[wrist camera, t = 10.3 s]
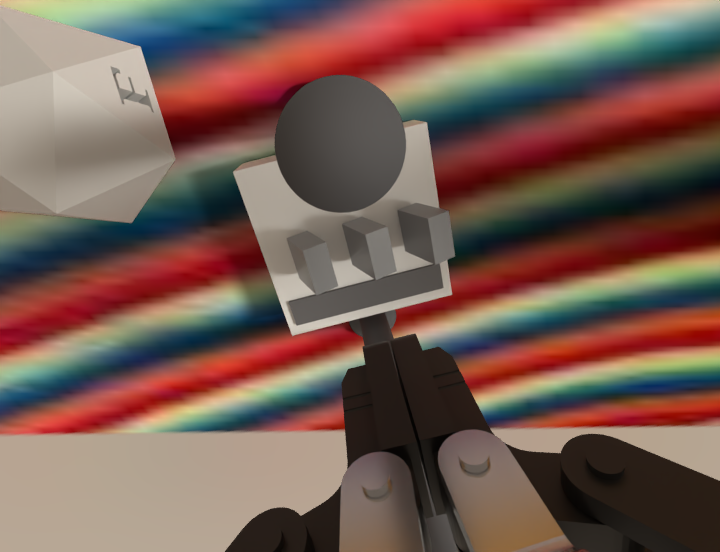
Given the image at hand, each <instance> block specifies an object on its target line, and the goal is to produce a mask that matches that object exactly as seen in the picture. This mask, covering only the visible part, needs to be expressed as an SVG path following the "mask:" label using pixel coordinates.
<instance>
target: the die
mask: <svg viewBox="0 0 720 552" xmlns="http://www.w3.org/2000/svg"><path fill="white" fill-rule="evenodd" d="M175 160H176V159H175V156H174V152H173V149H172V146H171V143H170V140H169V136H168V133H167V130H166V127H165V124H164V121H163V117H162V114H161V111H160V108H159V105H158V101H157V98H156V95H155V92H154V89H153V85H152V82H151V79H150V76H149V73H148V70H147V66H146V63H145V60H144V57H143V54H142V50H141V47H140V46H136V45H133V44H130V43H126V42H123V41H119V40H116V39H113V38H109V37H106V36H102V35H99V34H96V33H92V32H89V31H85V30H82V29H79V28H75V27H72V26H68V25H65V24H62V23H58V22H55V21H52V20H48V19H45V18H41V17H38V16H35V15H31V14H28V13H24V12H21V11H18V10H14V9H11V8H7V7H4V6H1V5H0V210H1V211H8V212H19V213H30V214H40V215H51V216H61V217H72V218H83V219H93V220H104V221H115V222H125V223H132V222H133V220H134V219H135V218H136V216H137V215H138V213H139V212H140V210H141V209H142V207H143V206H144V205H145V203H146V202H147V200H148V199H149V197H150V196H151V194H152V193H153V192H154V190H155V189H156V187H157V186H158V184H159V183H160V182H161V180H162V179H163V177H164V176H165V174H166V173H167V171H168V170H169V169H170V167H171V166H172V164H173V163H174V161H175Z"/></svg>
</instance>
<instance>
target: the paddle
mask: <svg viewBox="0 0 720 552" xmlns="http://www.w3.org/2000/svg"><path fill="white" fill-rule="evenodd" d="M286 239H287V242H288V245H289V248H290V251H291V254H292V257H293V260H294V263H295V267H296V270H297V273H298V276H299V279H300V280H301V281H302V282H303V283H304V284H306V285H307V286H308V287H309V288H310V289H311V290H312V291H313V292H314V293H315V294H316V295H319V294H321V293H324V292H326V291H328V290H331V289H333V288H335V287H338V283H337V279H336V276H335V272H334V269H333V265H332V262H331V258H330V255H329V251H328V248H327V244H326V242H325V241H324V240H322V239H320V238H319V237H317V236H315V235H314V234H312V233H310V232H309V231H304V232H302V233H299V234H296V235H294V236H291V237H288V238H286Z"/></svg>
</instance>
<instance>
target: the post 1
mask: <svg viewBox="0 0 720 552" xmlns="http://www.w3.org/2000/svg"><path fill="white" fill-rule="evenodd" d="M275 153H276V159H277V163H278V166H279V169H280V171H281V174H282V176H283V178H284V179H285V181H286V183H287V184H288V185H289V187H290V188H291V189H292V190H293V192H294V193H295V194H296V195H297V196H299V197H300V198H301V199H302V200H303V201H305V202H307V203H308V204H310V205H312V206H314V207H316V208H318V209H321V210H324V211H329V212H336V213H347V212H353V211H358V210H361V209H364V208H366V207H368V206H370V205H372V204H374V203H375V202H377V201H378V200H380V199H381V198H382V197H383V196H384V195H385V194H386V193H387V192H388V191H389V190H390V189H391V188H392V186H393V185H394V184H395V182H396V180H397V178H398V177H399V175H400V172H401V170H402V167H403V163H404V160H405V153H406V136H405V130H404V126H403V122H402V119H401V117H400V114H399V112H398V111H397V109H396V107H395V105H394V104H393V103H392V101H391V100H390V99H389V98H388V96H387V95H386V94H385V93H384V92H382V91H381V90H380V89H379V88H378V87H376V86H375V85H373V84H371V83H370V82H368V81H365V80H363V79H361V78H357V77H353V76H347V75H332V76H327V77H323V78H320V79H317V80H314V81H312V82H310V83H308V84H306V85H305V86H303V87H302V88H301V89H300V90H299V91H297V92H296V93H295V94H294V95H293V96H292V98H291V99H290V100H289V101H288V103H287V104H286V106H285V107H284V109H283V111H282V113H281V115H280V118H279V120H278V124H277V128H276V134H275Z"/></svg>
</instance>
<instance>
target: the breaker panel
mask: <svg viewBox="0 0 720 552" xmlns="http://www.w3.org/2000/svg"><path fill="white" fill-rule="evenodd" d="M403 126H404V130H405V136H406V153H405V160H404V163H403V167H402V170H401V172H400V175H399V177H398V178H397V180H396V182H395V184H394V185H393V186H392V188H391V189H390V190H389V191H388V192H387V193H386V194H385V195H384V196H383V197H382V198H381V199H380V200H378V201H377V202H375V203H374V204H372V205H370V206H368V207H366V208H364V209H361V210H358V211H353V212H347V213H336V212H329V211H324V210H321V209H318V208H316V207H314V206H312V205H310V204H308V203H307V202H305V201H303V200H302V199H301V198H300V197H299V196H297V195H296V194H295V193H294V192H293V190H292V189H291V188H290V187H289V185H288V184H287V183H286V181H285V179H284V178H283V176H282V174H281V171H280V169H279V166H278V163H277V159H276V155H273V156H269V157H265V158H262V159H258V160H254V161H250V162H246V163H243V164H241V165H240V166H239V167H238V168H237V169H235V170H234V171H233V174H234V176H235V179H236V182H237V185H238V187H239V190H240V193H241V196H242V198H243V201H244V204H245V207H246V210H247V212H248V215H249V218H250V221H251V223H252V226H253V229H254V232H255V234H256V237H257V240H258V243H259V245H260V248H261V251H262V254H263V257H264V259H265V262H266V265H267V268H268V270H269V273H270V276H271V279H272V281H273V284H274V287H275V290H276V292H277V295H278V298H279V301H280V304H281V306H282V309H283V312H284V315H285V317H286V320H287V323H288V326H289V328H290V331H291V334H292V336H293V335H297V334H301V333H305V332H309V331H313V330H317V329H320V328H324V327H328V326H332V325H336V324H340V323H344V322H348V321H352V320H355V319H359V318H363V317H367V316H371V315H375V314H379V313H383V312H387V311H391V310H394V309H398V308H402V307H406V306H410V305H414V304H418V303H422V302H426V301H429V300H433V299H437V298H441V297H445V296H449V295H452V290H451V283H450V276H449V269H448V262H447V260H446V261H443V262H441V263H439V264H437V265H434V264H432V263H430V262H428V261H426V260H423V259H421V258H419V257H417V256H414V255H412V254H410V253H408V252H406V251H405V248H404V243H403V237H402V232H401V227H400V222H399V217H398V212H397V210H398V209H401V208H403V207H406V206H408V205H411V204H414V203H420V204H424V205H428V206H432V207H436V208H439V202H438V195H437V188H436V181H435V175H434V168H433V161H432V154H431V147H430V141H429V134H428V127H427V122H422V121H417V120H410V121H407V122H403ZM359 217H364V218H367V219H369V220H372V221H375V222H377V223H380V224H383V225H385V226H387V227H388V232H389V236H390V241H391V246H392V251H393V255H394V260H395V265H396V270H397V271H396V272H394V273H392V274H389V275H387V276H385V277H382V278H380V279H378V280H375V279H373V278H372V277H370V276H369V275H367V274H366V273H364V272H363V271H361V270H359V269H358V268H356V267H355V266H353V265H352V262H351V258H350V254H349V250H348V246H347V242H346V239H345V235H344V231H343V227H342V224H343V223H346V222H348V221H351V220H354V219H356V218H359ZM304 231H309V232H310V233H312V234H314V235H315V236H317V237H319V238H320V239H322V240H324V241H325V242H326V244H327V248H328V251H329V255H330V258H331V262H332V265H333V269H334V272H335V276H336V279H337V283H338V287H335V288H333V289H331V290H328V291H326V292H324V293H321V294H319V295H316V294H315V293H314V292H313V291H312V290H311V289H310V288H309V287H308V286H307V285H306V284H304V283H303V282H302V281H301V280H300V279H299V276H298V273H297V270H296V267H295V263H294V260H293V257H292V254H291V251H290V248H289V245H288V242H287V239H286V238H288V237H291V236H294V235H296V234H299V233H302V232H304Z"/></svg>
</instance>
